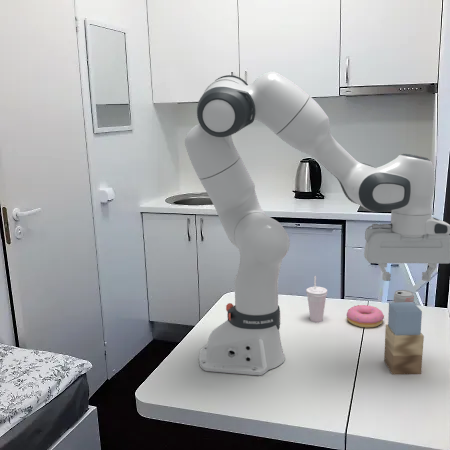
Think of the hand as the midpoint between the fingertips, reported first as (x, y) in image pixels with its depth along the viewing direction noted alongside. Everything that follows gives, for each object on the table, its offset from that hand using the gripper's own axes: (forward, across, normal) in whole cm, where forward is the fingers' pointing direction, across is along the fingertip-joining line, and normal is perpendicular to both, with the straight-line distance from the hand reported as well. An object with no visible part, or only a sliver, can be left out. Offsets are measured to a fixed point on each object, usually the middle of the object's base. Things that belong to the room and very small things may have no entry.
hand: (406, 280), depth 124 cm
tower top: (+18, +1, 0) cm, 18 cm away
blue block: (+13, 0, 0) cm, 13 cm away
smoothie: (+23, -16, +30) cm, 41 cm away
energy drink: (+23, +7, +20) cm, 31 cm away
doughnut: (+23, -2, +28) cm, 37 cm away
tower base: (+23, +1, 0) cm, 23 cm away
